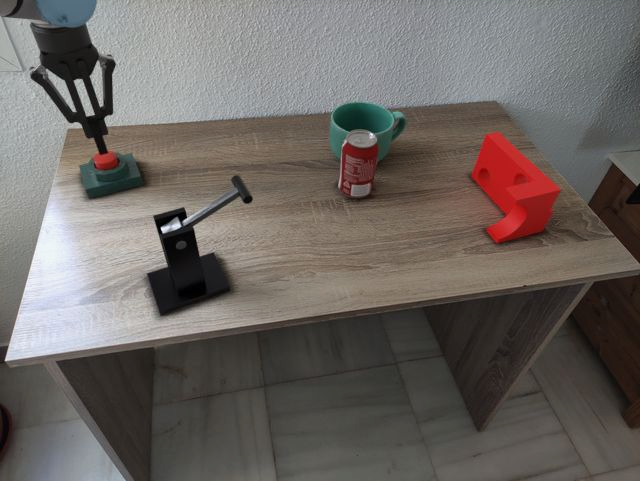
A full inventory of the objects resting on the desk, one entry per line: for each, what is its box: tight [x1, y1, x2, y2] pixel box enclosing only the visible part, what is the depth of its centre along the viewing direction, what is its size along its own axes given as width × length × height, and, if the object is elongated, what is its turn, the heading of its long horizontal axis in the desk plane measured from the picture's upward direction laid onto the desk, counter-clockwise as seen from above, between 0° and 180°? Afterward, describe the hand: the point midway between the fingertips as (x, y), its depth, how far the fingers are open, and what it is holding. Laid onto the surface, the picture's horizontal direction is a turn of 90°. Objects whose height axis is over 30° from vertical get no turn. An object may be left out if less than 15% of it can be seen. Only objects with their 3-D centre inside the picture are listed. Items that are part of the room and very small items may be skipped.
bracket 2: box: [471, 131, 562, 244], centre depth 87 cm, size 18×10×10 cm
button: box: [93, 150, 119, 171], centre depth 88 cm, size 4×4×2 cm
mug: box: [329, 101, 407, 163], centre depth 97 cm, size 17×13×10 cm
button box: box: [78, 151, 144, 199], centre depth 90 cm, size 10×8×4 cm
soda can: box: [337, 130, 379, 199], centre depth 88 cm, size 7×7×12 cm
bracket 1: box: [146, 206, 231, 316], centre depth 69 cm, size 11×8×14 cm
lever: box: [161, 174, 254, 233], centre depth 66 cm, size 13×5×2 cm, turn 117°
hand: (102, 150), depth 86 cm, fingers closed
